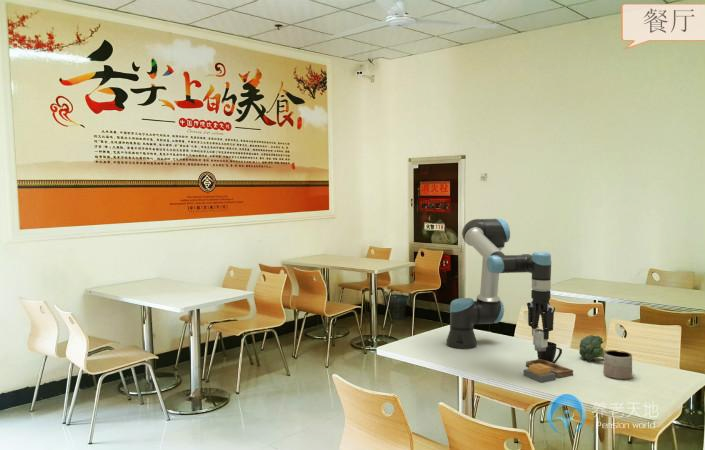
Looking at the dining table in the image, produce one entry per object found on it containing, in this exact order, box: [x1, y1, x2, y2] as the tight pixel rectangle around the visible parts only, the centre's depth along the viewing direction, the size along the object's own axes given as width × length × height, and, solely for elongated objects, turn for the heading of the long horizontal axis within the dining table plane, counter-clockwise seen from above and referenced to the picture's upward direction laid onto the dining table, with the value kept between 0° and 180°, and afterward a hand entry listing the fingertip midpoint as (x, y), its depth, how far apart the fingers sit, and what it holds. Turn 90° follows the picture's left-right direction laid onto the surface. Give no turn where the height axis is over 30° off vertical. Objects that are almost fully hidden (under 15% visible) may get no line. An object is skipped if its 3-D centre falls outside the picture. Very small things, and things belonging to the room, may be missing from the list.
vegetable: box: [578, 334, 608, 362], centre depth 254 cm, size 12×13×15 cm
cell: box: [534, 328, 546, 352], centre depth 228 cm, size 4×4×9 cm
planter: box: [602, 349, 633, 381], centre depth 231 cm, size 11×11×10 cm
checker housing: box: [523, 368, 557, 384], centre depth 229 cm, size 10×8×2 cm
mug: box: [536, 341, 563, 364], centre depth 248 cm, size 8×12×10 cm
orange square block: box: [528, 363, 550, 375], centre depth 229 cm, size 6×6×3 cm
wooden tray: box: [525, 358, 574, 379], centre depth 238 cm, size 18×9×2 cm, turn 26°
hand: (540, 345), depth 228 cm, fingers closed on cell, 4 cm apart
